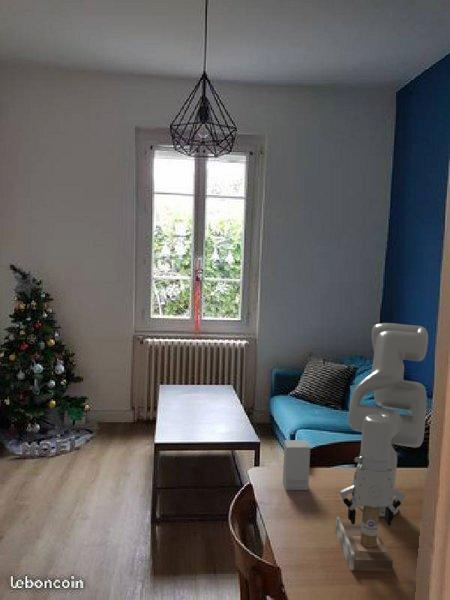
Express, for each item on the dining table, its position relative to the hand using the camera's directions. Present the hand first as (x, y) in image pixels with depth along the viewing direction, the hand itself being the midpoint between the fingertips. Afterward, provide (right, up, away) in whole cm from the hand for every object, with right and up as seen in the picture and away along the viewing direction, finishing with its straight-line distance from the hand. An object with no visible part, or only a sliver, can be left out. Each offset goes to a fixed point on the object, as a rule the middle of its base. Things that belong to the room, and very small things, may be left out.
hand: (369, 522), depth 140 cm
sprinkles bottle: (0, -6, +1) cm, 6 cm away
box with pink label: (-1, -9, +3) cm, 9 cm away
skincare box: (-15, -4, +38) cm, 42 cm away
